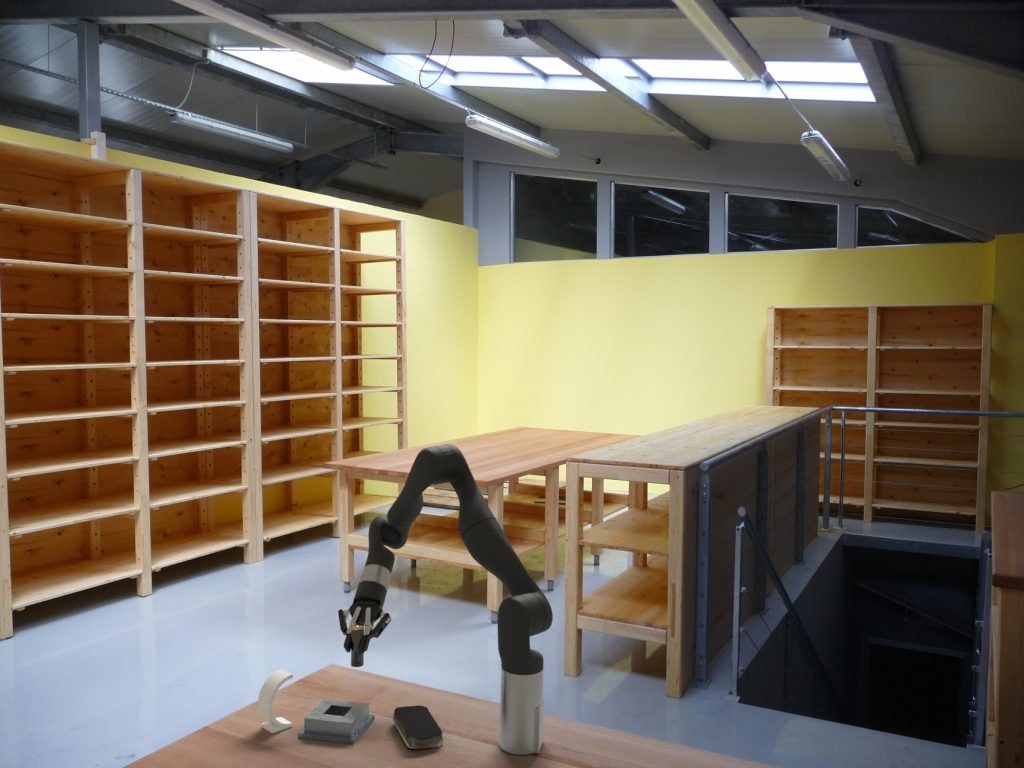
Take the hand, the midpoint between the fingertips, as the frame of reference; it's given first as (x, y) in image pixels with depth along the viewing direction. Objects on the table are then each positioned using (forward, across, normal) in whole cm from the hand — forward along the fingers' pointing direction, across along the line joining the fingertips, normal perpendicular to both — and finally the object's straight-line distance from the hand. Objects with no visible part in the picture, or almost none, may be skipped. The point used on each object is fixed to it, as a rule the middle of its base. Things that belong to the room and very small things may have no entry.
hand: (354, 651), depth 195 cm
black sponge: (+16, +18, +5) cm, 25 cm away
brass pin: (+1, 0, +4) cm, 5 cm away
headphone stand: (+19, -14, +2) cm, 24 cm away
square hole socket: (+17, 0, +4) cm, 17 cm away
